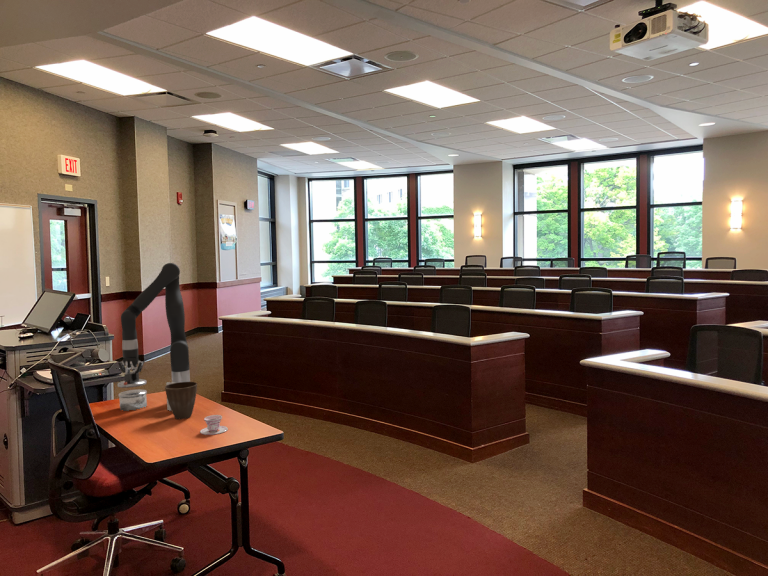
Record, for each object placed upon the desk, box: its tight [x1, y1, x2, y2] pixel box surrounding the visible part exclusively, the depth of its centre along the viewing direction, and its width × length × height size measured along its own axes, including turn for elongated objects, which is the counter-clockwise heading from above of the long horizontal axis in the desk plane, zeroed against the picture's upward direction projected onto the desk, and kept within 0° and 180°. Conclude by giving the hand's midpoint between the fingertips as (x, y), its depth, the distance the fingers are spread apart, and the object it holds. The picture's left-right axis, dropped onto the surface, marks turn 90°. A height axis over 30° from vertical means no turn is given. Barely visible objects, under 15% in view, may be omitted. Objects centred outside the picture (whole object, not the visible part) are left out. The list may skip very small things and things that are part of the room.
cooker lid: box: [117, 370, 147, 389], centre depth 301 cm, size 14×14×6 cm
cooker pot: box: [118, 388, 148, 412], centre depth 302 cm, size 14×14×8 cm
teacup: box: [199, 414, 229, 436], centre depth 258 cm, size 12×12×6 cm
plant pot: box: [164, 381, 198, 420], centre depth 280 cm, size 15×15×16 cm
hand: (132, 380), depth 301 cm, fingers closed on cooker lid, 3 cm apart
